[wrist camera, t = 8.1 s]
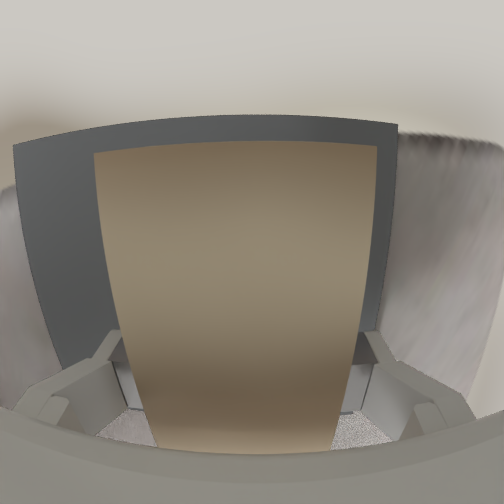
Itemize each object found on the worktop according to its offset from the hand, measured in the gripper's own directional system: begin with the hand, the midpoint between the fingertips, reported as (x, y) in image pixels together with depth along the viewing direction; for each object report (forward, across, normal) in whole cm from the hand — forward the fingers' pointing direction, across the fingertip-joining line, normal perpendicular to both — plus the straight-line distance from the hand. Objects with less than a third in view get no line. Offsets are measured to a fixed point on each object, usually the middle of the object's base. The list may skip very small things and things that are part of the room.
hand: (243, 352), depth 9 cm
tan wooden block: (+1, 0, 0) cm, 1 cm away
